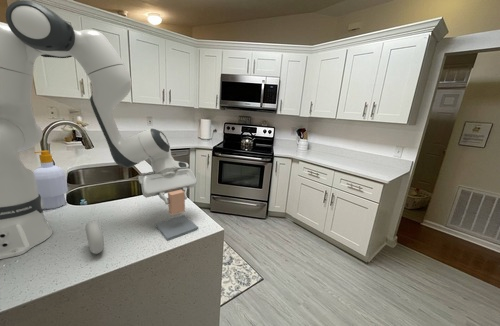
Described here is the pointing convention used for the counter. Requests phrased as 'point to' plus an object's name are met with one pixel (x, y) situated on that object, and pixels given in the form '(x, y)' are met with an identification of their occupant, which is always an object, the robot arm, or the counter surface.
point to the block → (176, 202)
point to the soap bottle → (50, 182)
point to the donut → (95, 237)
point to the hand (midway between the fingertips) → (176, 201)
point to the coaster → (176, 227)
